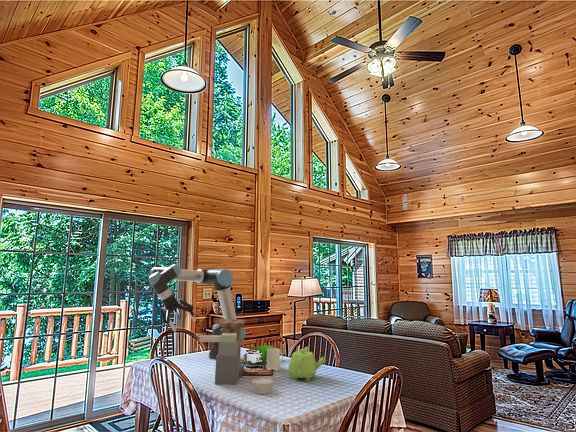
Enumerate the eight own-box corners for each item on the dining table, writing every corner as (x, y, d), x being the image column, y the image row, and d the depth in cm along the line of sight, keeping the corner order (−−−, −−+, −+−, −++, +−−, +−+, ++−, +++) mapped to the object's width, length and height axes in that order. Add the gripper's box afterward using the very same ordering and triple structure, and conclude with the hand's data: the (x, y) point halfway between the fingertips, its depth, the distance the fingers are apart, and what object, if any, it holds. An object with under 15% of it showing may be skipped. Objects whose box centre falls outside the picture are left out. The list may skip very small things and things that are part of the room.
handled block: (198, 342, 206) (199, 335, 207) (201, 340, 214) (201, 332, 214) (235, 343, 207) (235, 335, 207) (236, 340, 215) (236, 333, 215)
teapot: (323, 385, 204) (324, 354, 206) (285, 382, 208) (285, 352, 211) (328, 373, 228) (328, 346, 230) (293, 371, 232) (293, 344, 235)
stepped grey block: (214, 384, 201) (216, 343, 204) (217, 378, 213) (219, 339, 216) (237, 384, 202) (238, 343, 205) (239, 378, 214) (240, 339, 217)
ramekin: (261, 387, 198) (261, 376, 199) (278, 391, 191) (278, 380, 192) (246, 392, 189) (247, 380, 190) (263, 396, 182) (263, 385, 183)
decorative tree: (243, 344, 249) (276, 338, 270) (239, 360, 251) (272, 352, 272) (253, 354, 241) (286, 346, 262) (248, 370, 243) (282, 361, 264)
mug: (279, 366, 243) (279, 347, 245) (286, 369, 236) (287, 349, 238) (263, 368, 237) (264, 348, 238) (270, 371, 230) (271, 351, 231)
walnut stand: (216, 377, 215) (218, 323, 220) (220, 368, 235) (222, 319, 239) (241, 377, 216) (242, 323, 220) (243, 368, 235) (245, 319, 240)
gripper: (146, 308, 218) (165, 338, 222) (183, 289, 217) (202, 319, 221) (150, 303, 226) (169, 331, 230) (186, 284, 224) (204, 313, 228)
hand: (185, 325), depth 225 cm, fingers open, 13 cm apart
